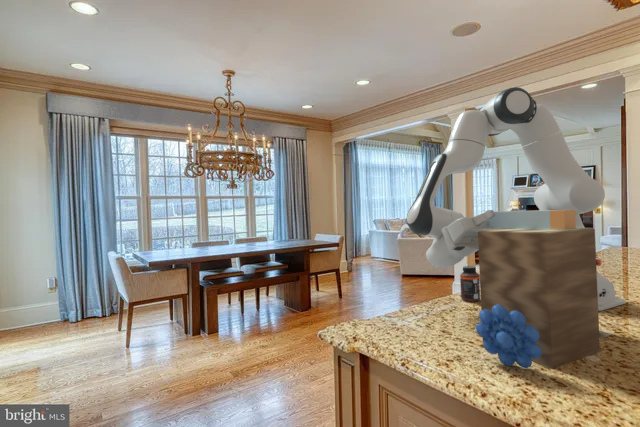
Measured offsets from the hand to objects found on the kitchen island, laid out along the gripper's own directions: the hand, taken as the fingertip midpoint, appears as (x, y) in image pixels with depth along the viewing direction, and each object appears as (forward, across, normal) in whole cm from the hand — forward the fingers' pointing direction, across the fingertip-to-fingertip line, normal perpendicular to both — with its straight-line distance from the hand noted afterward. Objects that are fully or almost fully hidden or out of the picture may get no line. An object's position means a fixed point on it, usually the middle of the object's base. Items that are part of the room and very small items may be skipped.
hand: (505, 211), depth 89 cm
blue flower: (-4, +18, -33) cm, 38 cm away
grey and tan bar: (+3, 0, -6) cm, 7 cm away
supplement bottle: (-38, -16, -13) cm, 43 cm away
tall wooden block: (-7, +4, -31) cm, 32 cm away
